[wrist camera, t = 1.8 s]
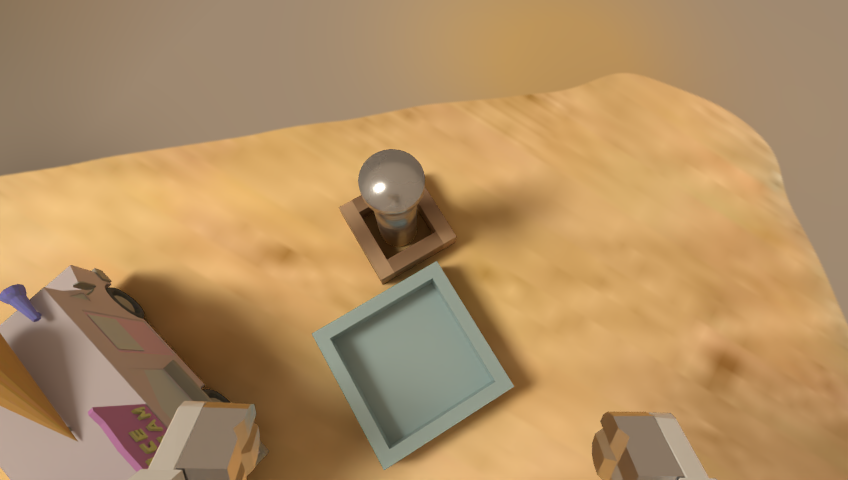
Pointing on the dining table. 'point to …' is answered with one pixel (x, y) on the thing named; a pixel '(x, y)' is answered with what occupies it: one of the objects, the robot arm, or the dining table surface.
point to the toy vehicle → (86, 382)
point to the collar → (409, 256)
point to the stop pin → (393, 193)
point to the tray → (411, 363)
